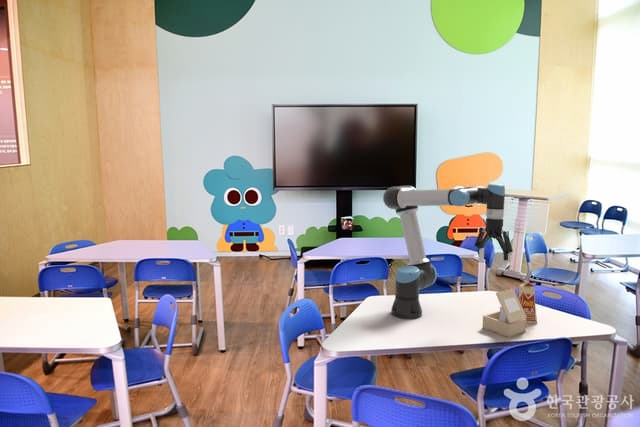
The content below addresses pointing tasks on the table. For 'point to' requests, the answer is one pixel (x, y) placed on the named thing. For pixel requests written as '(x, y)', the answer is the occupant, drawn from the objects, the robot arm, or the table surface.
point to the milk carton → (528, 301)
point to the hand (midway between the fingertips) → (492, 264)
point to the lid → (511, 305)
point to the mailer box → (503, 324)
